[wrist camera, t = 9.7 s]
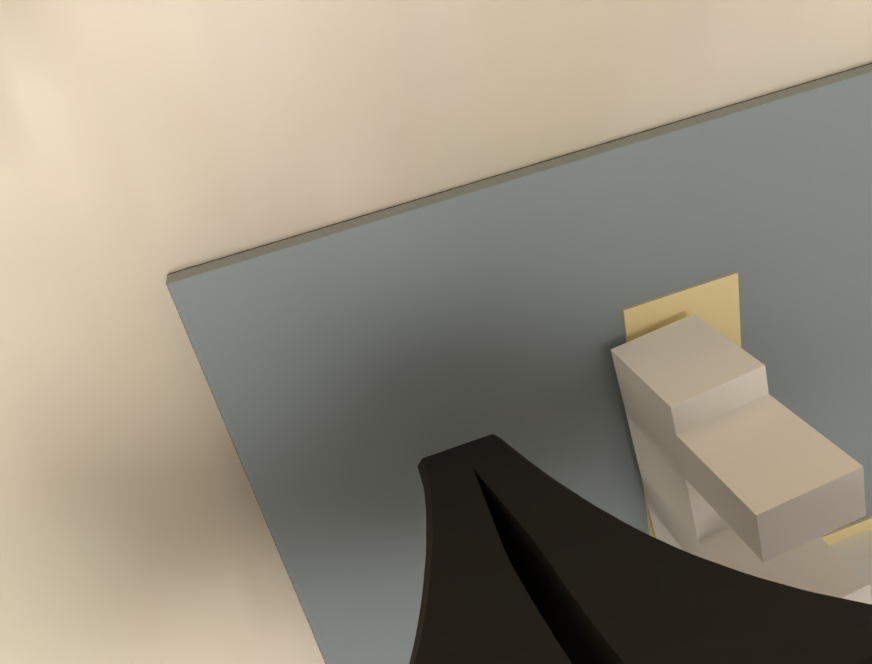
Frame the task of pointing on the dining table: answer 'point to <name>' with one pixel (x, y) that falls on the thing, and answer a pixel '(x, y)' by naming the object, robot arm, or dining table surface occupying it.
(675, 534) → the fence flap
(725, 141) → the board
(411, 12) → the dining table surface
